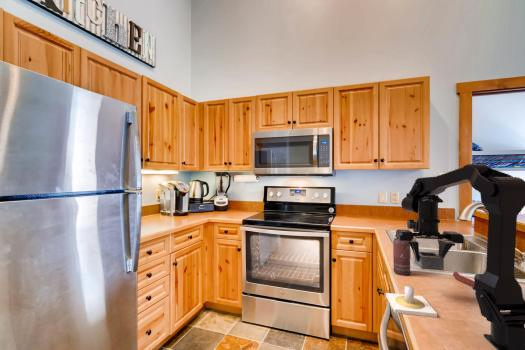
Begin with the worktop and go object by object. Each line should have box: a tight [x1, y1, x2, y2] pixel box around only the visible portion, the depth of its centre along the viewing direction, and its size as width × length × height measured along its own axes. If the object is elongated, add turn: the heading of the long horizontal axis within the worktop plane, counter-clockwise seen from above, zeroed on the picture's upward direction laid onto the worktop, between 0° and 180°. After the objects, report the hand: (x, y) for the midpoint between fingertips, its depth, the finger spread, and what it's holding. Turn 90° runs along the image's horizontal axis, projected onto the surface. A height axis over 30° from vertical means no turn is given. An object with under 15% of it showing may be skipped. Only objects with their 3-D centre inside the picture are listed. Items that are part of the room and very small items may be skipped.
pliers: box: [452, 271, 475, 290], centre depth 92 cm, size 12×20×3 cm, turn 158°
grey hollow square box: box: [414, 250, 445, 272], centre depth 85 cm, size 6×6×4 cm
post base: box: [385, 285, 438, 318], centre depth 79 cm, size 11×11×6 cm
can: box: [392, 237, 411, 277], centre depth 106 cm, size 6×6×14 cm
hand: (428, 261), depth 85 cm, fingers closed on grey hollow square box, 6 cm apart
